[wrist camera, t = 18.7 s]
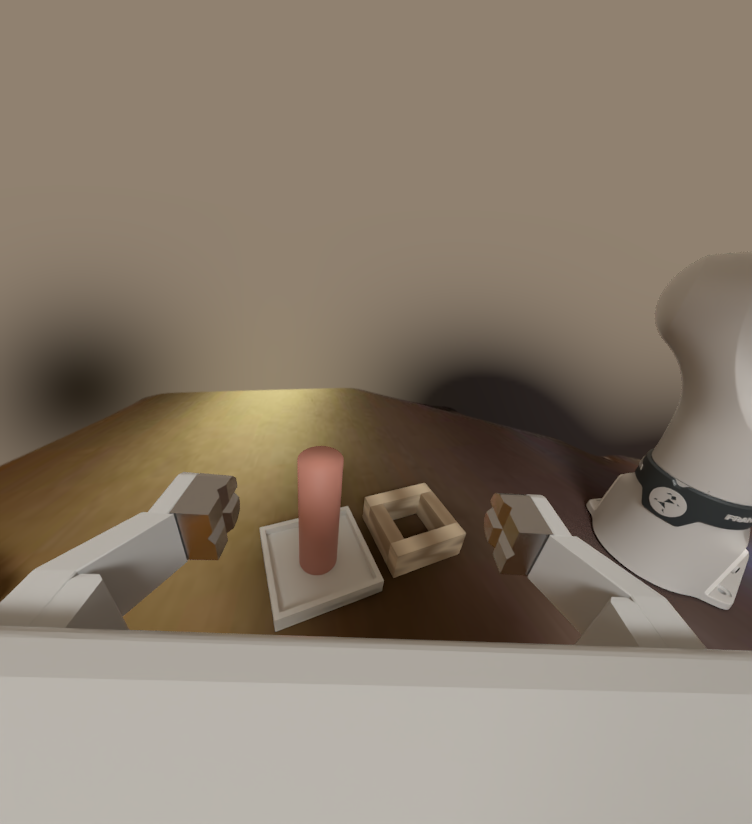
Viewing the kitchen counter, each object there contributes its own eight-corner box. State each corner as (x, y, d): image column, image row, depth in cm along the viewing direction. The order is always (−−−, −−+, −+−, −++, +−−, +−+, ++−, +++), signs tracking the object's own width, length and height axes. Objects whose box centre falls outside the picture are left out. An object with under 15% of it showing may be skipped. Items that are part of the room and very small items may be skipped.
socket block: (420, 501, 50) (424, 482, 48) (458, 553, 42) (466, 533, 40) (362, 517, 46) (364, 497, 44) (393, 578, 38) (397, 556, 36)
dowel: (330, 538, 41) (335, 443, 34) (341, 568, 38) (349, 468, 30) (295, 548, 39) (293, 450, 32) (304, 580, 36) (303, 477, 29)
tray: (347, 515, 46) (348, 505, 45) (381, 591, 37) (384, 580, 36) (260, 538, 41) (259, 527, 40) (275, 632, 32) (274, 620, 31)
